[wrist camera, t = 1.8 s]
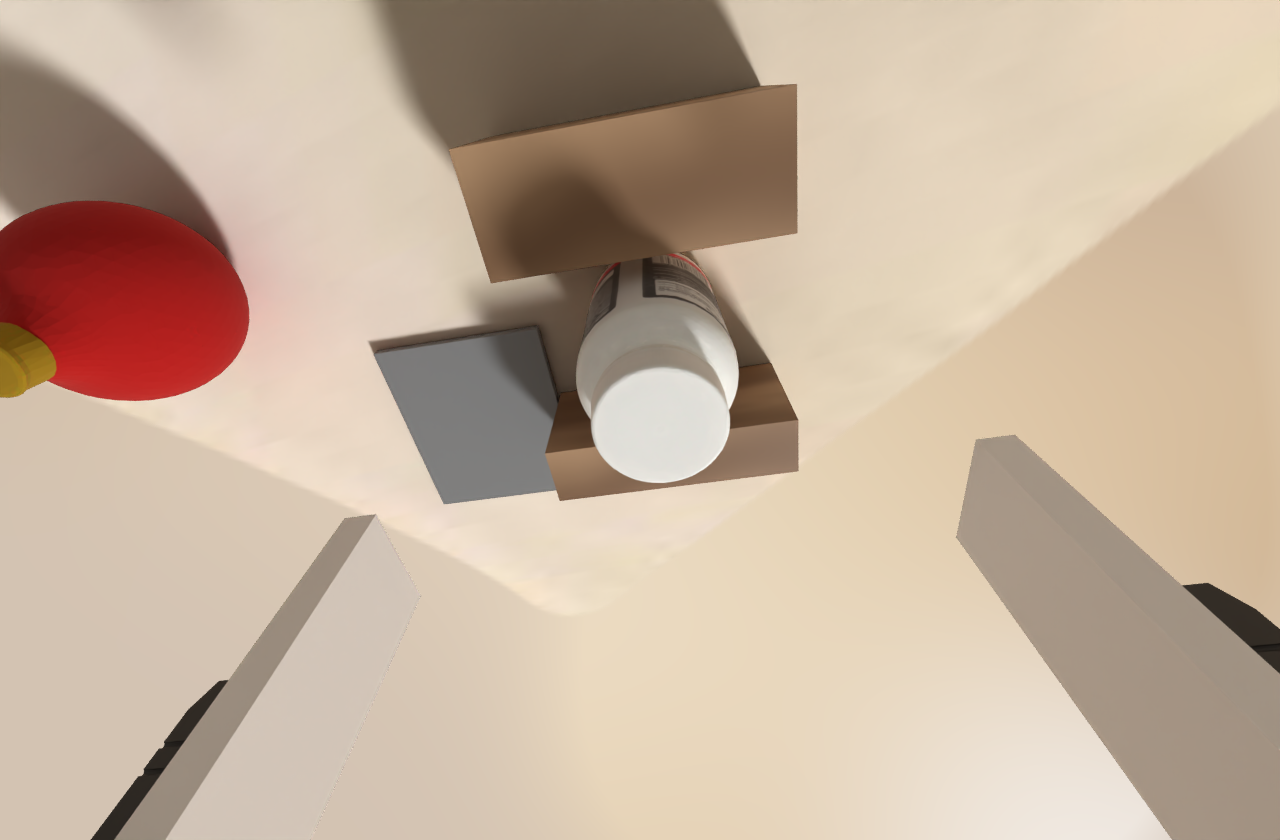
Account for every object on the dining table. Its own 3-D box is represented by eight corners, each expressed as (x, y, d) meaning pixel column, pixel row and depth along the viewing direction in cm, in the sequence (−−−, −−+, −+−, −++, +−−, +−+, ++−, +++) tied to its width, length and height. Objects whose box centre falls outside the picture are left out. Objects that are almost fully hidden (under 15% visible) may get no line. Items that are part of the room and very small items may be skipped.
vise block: (490, 136, 20) (448, 149, 15) (761, 85, 19) (796, 84, 14) (572, 435, 27) (559, 500, 22) (772, 408, 26) (798, 471, 22)
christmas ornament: (211, 376, 25) (-12, 523, 16) (65, 239, 22) (-307, 334, 13) (321, 310, 23) (136, 436, 15) (182, 150, 20) (-161, 194, 11)
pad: (377, 350, 24) (373, 354, 24) (538, 325, 24) (536, 329, 23) (446, 499, 29) (444, 504, 29) (581, 482, 28) (581, 487, 28)
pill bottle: (625, 380, 25) (616, 524, 17) (569, 279, 22) (526, 389, 14) (732, 334, 24) (781, 465, 15) (686, 221, 21) (714, 305, 13)
